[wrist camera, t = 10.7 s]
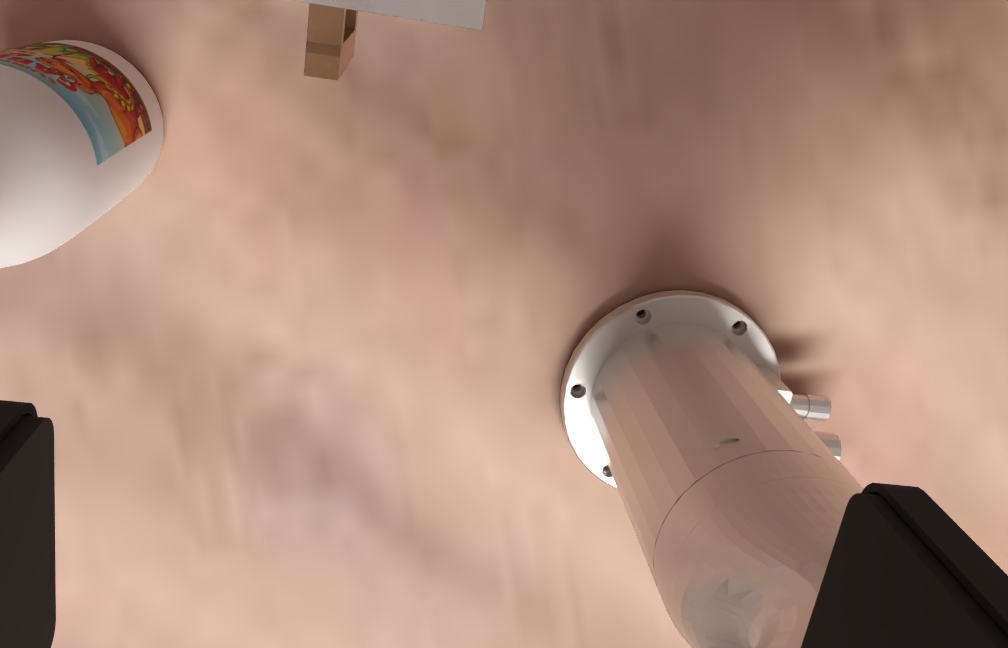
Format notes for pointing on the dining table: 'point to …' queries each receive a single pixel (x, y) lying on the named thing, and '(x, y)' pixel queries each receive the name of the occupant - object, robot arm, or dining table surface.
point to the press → (340, 3)
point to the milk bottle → (69, 142)
